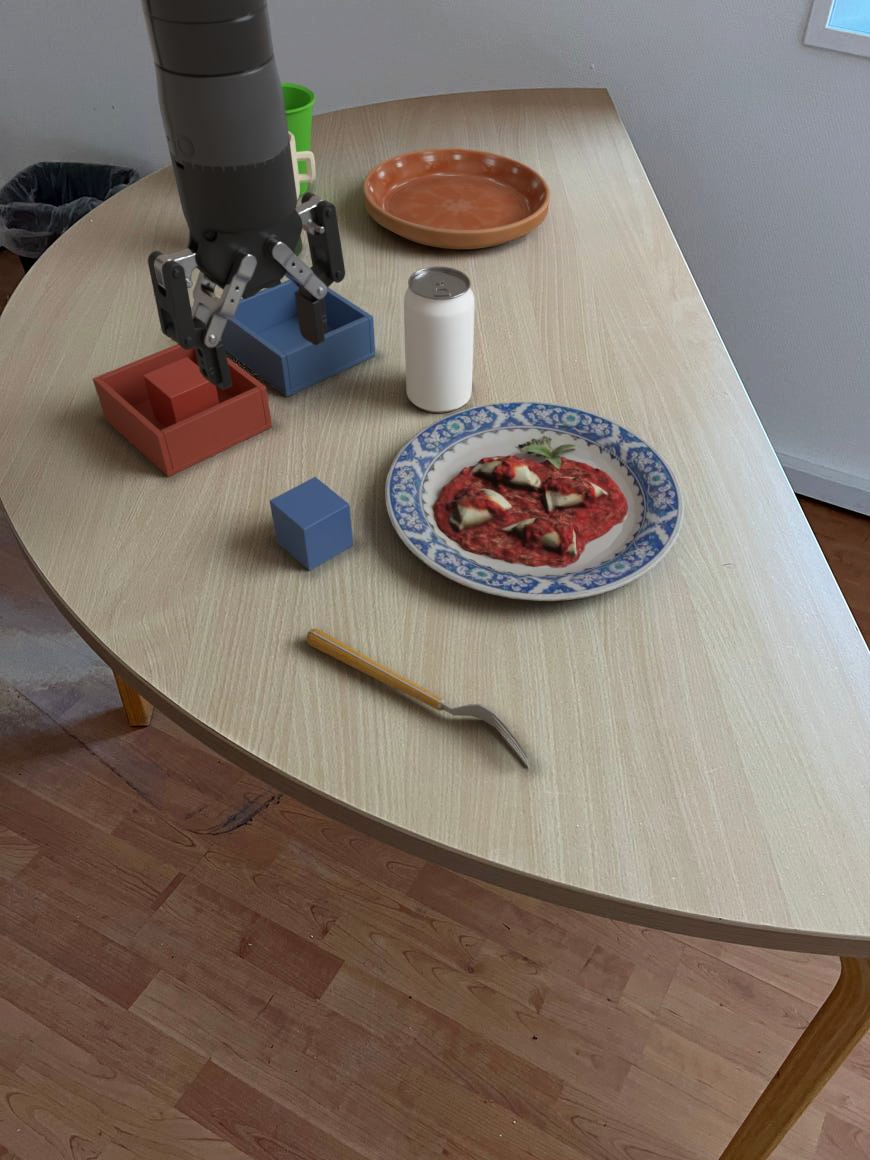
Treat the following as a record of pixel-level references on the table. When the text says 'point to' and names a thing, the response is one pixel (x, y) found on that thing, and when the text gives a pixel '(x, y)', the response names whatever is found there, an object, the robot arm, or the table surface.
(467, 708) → the fork
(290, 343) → the blue bin
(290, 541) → the blue block
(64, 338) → the table surface
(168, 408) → the red block
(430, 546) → the ceramic plate
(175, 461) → the red bin
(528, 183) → the saucer
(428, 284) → the can
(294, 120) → the cup
